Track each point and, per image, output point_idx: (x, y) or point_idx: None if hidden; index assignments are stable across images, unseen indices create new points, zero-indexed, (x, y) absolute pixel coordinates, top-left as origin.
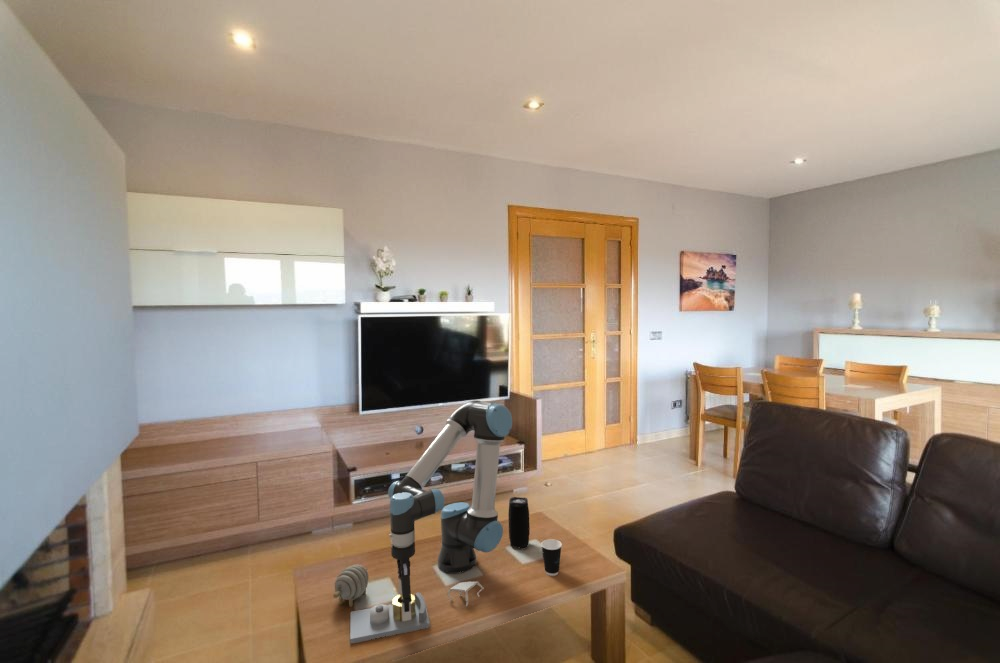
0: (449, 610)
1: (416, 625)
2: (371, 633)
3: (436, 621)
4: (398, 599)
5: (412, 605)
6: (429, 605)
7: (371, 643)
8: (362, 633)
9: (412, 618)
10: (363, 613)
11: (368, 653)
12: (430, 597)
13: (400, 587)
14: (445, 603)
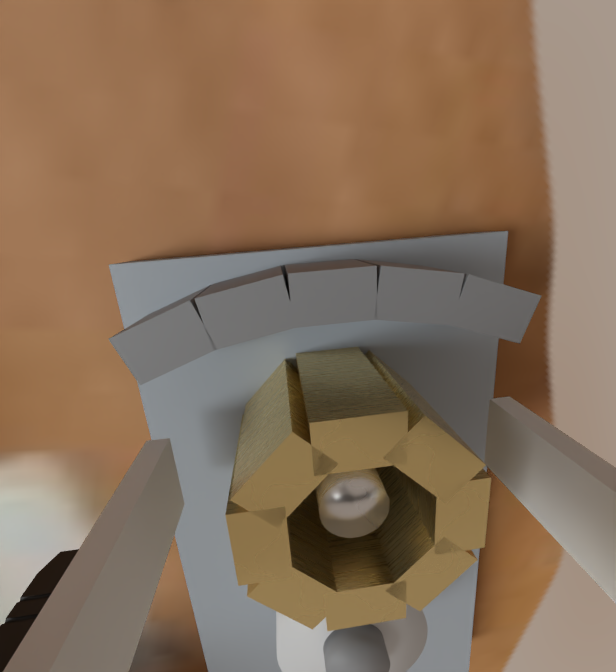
0: (299, 9)
1: (496, 340)
2: (463, 592)
3: (424, 169)
4: (318, 570)
5: (437, 420)
6: (180, 213)
7: (489, 560)
8: (444, 631)
9: (401, 370)
10: (252, 659)
11: (556, 562)
12: (43, 193)
13: (134, 620)
14: (168, 36)
